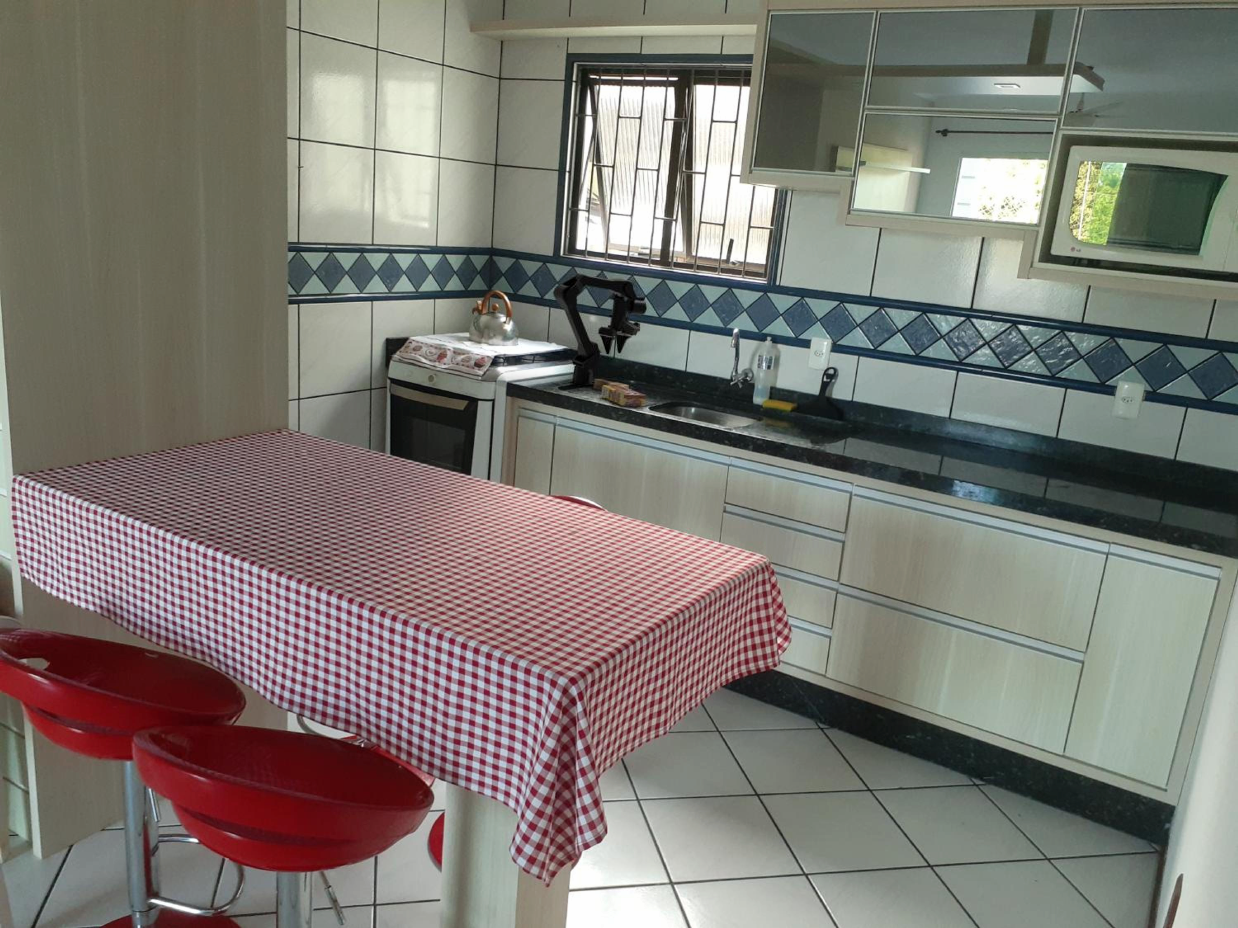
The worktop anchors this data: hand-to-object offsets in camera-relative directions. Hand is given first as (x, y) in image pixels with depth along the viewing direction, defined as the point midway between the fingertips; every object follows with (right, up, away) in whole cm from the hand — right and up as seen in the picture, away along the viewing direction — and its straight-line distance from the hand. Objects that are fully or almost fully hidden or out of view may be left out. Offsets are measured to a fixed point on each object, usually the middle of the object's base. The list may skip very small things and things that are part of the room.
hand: (613, 353), depth 365 cm
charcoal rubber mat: (+7, -20, -27) cm, 35 cm away
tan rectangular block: (-1, -15, -13) cm, 20 cm away
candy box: (0, -16, -25) cm, 30 cm away
